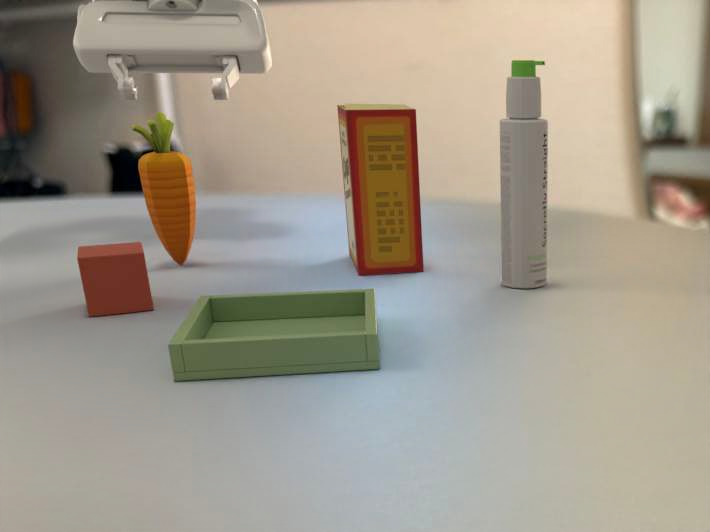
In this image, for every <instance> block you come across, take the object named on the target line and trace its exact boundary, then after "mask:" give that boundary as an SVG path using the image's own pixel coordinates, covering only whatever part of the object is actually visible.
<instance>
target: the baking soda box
mask: <svg viewBox="0 0 710 532" xmlns="http://www.w3.org/2000/svg"><path fill="white" fill-rule="evenodd" d="M337 118H338V130H339V132H338V133H339V144H340V154H341V169H342V181H343V182H342V183H343V193H344V205H345V217H346V218H345V219H346V229H347V243H348V254H349V255H348V257H349V258H350V260H351V263H352V264H353V266H354V269H355V272H356V273H357V276H375V275H390V274H391V275H393V274H405V273H408V274H409V273H423V272H424V252H423V249H424V248H423V232H422V231H423V230H422V229H423V228H422V211H421V210H422V209H421V208H422V207H421V189H420V187H421V186H420V168H419V167H420V166H419V145H418V144H419V143H418V127H417V126H418V125H417V123H418V122H417V109H416V108H413V107H411V106H408V105H406V104H399V103H398V104H394V103H393V104H392V103H391V104H389V103H388V104H387V103H385V104H383V103H381V104H380V103H345V102H344V104H337Z"/></svg>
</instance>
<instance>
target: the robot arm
mask: <svg viewBox="0 0 710 532" xmlns="http://www.w3.org/2000/svg"><path fill="white" fill-rule="evenodd" d="M76 16H77V17H76V26H75V30H74V32H73V33H74V34H73V38H72V47H73V50H74V53H75V55H76V58H77V59H78V61H79V63H80V65H81V66H82V67H83V68H84V69H85V71H87V72H88V73H90V74H92V73H93V74H112V77H113V78H114V80H115V81H116V83H117V92H118V94H119V96H120V99H121V101H137V100H138V96H137V95H138V90H139V89H138V87H137V84H136V81H135V79H134V77H133V76H129V74H220V75H219V77H218V76H217V77H216V76H215V77H211V93H212V95H213V100H214V101H229V97H230V94H229V93H230V90H231V89H232V87H233V86H234V85H235V84H236V83H237V82H238V81H239V79H240V74H249V75H250V74H256V75H257V74H258V75H259V74H261V75H262V74H266V73H267V72H269V70H270V69H271V68H272V67H273V57H272V52H271V46H270V39H269V35H268V31H267V25H266V22H265V17H264V14H263V10H262V9H261V6H260V5H259V2H258V0H91V1H89V2H86V3H83V4H80V5H79V7H78V9H77V15H76Z"/></svg>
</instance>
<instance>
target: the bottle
mask: <svg viewBox="0 0 710 532" xmlns="http://www.w3.org/2000/svg"><path fill="white" fill-rule="evenodd" d="M545 65H546V61H545V60H532V59H527V60H526V59H513V60H511V68H510V69H511V71H510V72H511V73H510V76H507V77H506V90H505V117H506V118H501V119H499V172H500V174H499V175H500V177H499V178H500V179H499V180H500V182H499V183H500V246H501V247H500V249H501V253H500V255H501V257H500V258H501V284H502V285H503V286H505V287H507V288H513V289H520V290H521V289H522V290H523V289H526V290H527V289H537V288H541V287H544V286H546V284H547V282H548V174H549V173H548V172H549V171H548V169H549V168H548V163H549V162H548V161H549V160H548V158H549V156H548V155H549V153H548V152H549V145H548V143H549V121H548V119H546V118H542V87H541V77H539V76H537V72H536V71H537V69H536V66H545Z"/></svg>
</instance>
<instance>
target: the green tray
mask: <svg viewBox="0 0 710 532" xmlns="http://www.w3.org/2000/svg"><path fill="white" fill-rule="evenodd" d="M377 316H378V315H377V302H376V289H375V288H360V289H359V288H358V289H357V288H354V289H331V290H309V291H308V290H307V291H287V292H285V291H283V292H261V293H259V292H258V293H239V294H213V295H200V296H199V298H198V299H197V300H196V302H195V304H194V305H193V307H192V308H191V310H190V311H189V312H188V314H187V316H186V317H185V318H184V320H183V322H182V323H181V325H180V326H179V327H178V329H177V330H176V331H175V333H174V335H173V337H171V339H170V341H169V342H168V343H167V348H168V353H169V360H170V365H171V371H172V377H173V381H174V382H181V381H182V382H183V381H184V382H185V381H197V380H198V381H199V380H216V379H235V378H251V377H268V376H282V375H299V374H302V375H303V374H314V373H315V374H316V373H317V374H319V373H334V372H350V371H353V372H354V371H367V370H369V371H370V370H380V351H379V334H378V333H379V332H378V317H377Z"/></svg>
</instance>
